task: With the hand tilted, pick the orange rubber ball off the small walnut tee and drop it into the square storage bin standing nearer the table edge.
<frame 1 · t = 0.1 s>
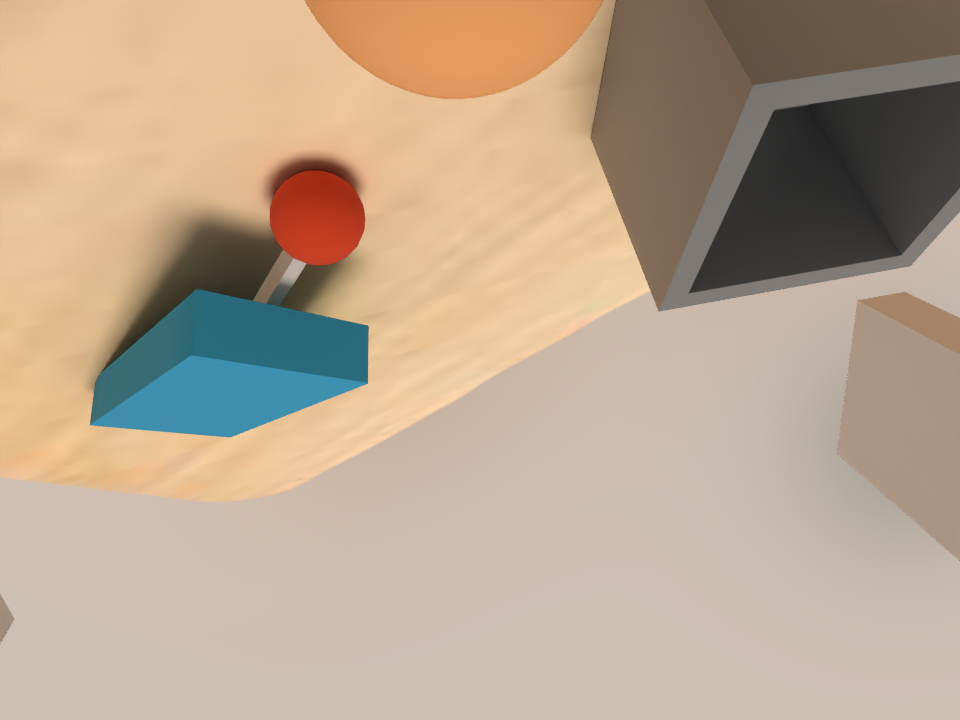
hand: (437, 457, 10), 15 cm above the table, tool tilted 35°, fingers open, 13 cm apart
square storage bin: (740, 15, 23), on the table
lever: (233, 292, 31), on the table
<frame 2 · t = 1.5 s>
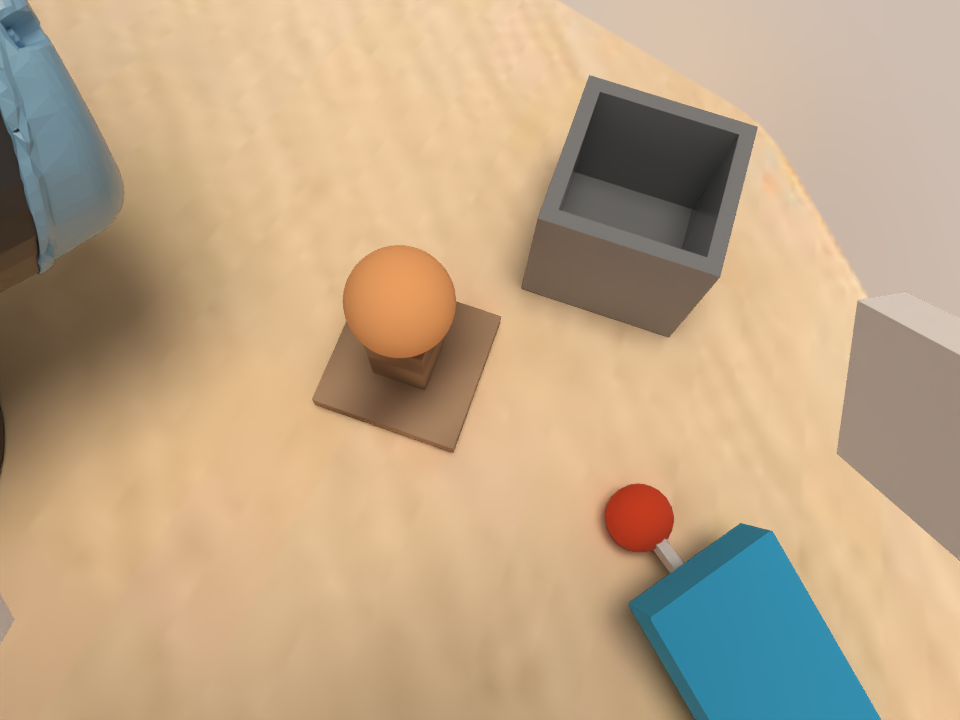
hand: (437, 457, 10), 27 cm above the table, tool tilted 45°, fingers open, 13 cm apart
tee: (410, 362, 39), on the table
square storage bin: (614, 247, 42), on the table
lever: (719, 652, 35), on the table
ball: (400, 302, 31), point 8 cm above the table, touching tee
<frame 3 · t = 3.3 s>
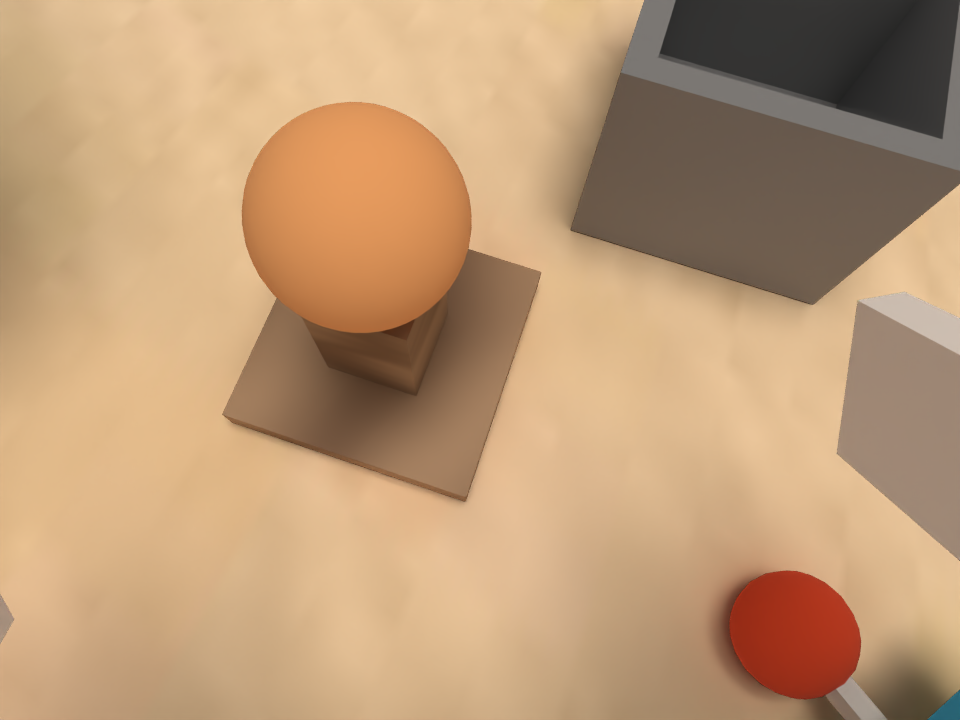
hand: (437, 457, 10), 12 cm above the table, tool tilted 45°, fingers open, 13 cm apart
tee: (391, 350, 24), on the table
square storage bin: (715, 166, 27), on the table
ball: (359, 221, 16), point 8 cm above the table, touching tee
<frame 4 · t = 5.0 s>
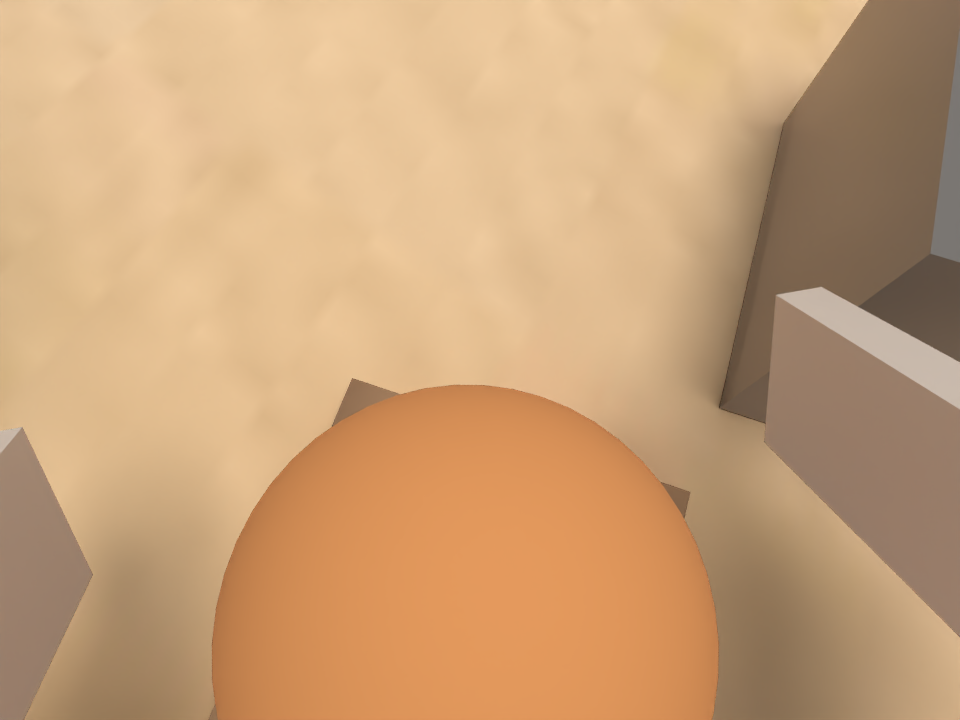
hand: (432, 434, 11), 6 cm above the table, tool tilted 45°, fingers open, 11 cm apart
tee: (459, 612, 15), on the table
square storage bin: (921, 305, 18), on the table
ball: (467, 623, 7), point 8 cm above the table, touching tee
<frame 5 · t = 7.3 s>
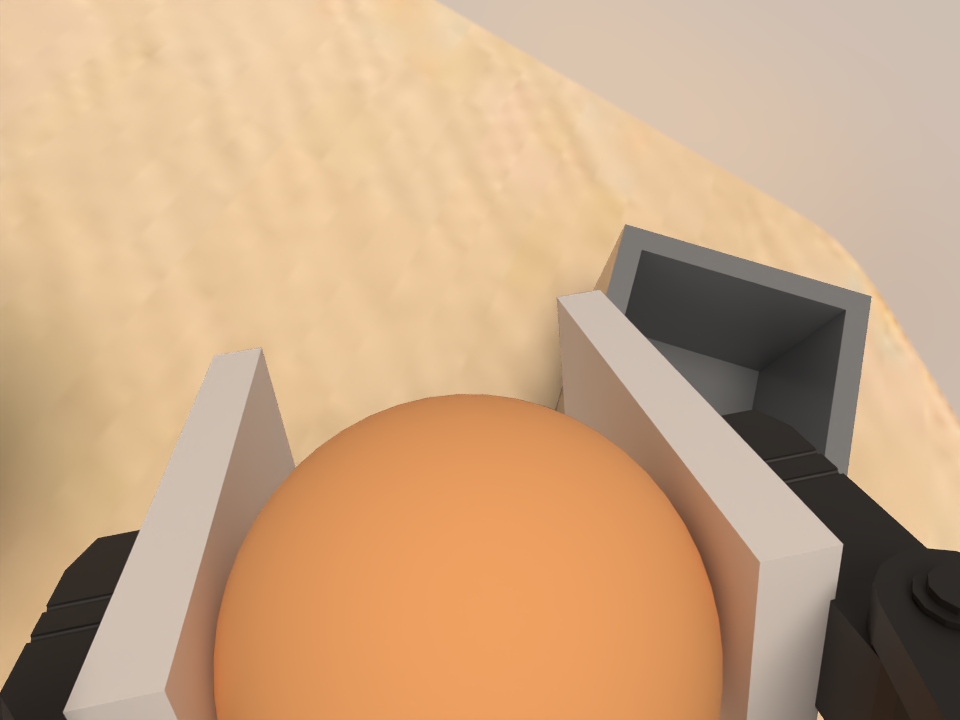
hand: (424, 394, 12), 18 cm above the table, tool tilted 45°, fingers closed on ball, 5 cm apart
square storage bin: (656, 427, 31), on the table
ball: (469, 634, 7), point 22 cm above the table, touching gripper
when the fingers open (10 cm above the table, at t = 9.1 s): ball drops 11 cm, resting on square storage bin.
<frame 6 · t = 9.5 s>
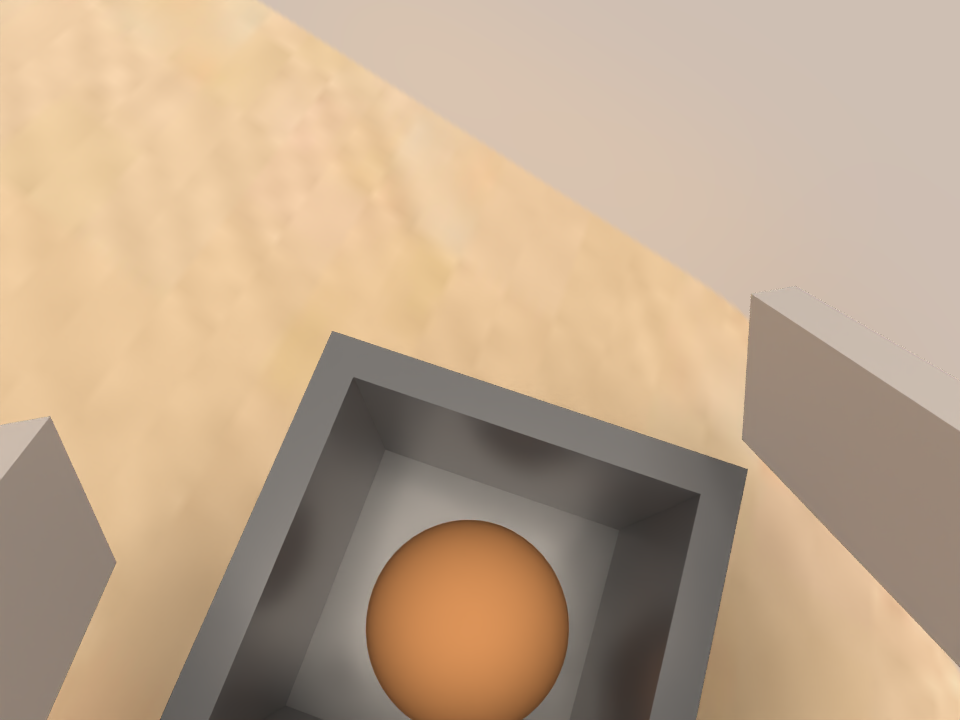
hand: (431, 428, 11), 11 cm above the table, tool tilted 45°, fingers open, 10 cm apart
square storage bin: (460, 613, 20), on the table
ball: (467, 622, 17), point 3 cm above the table, tilted 6°, touching square storage bin
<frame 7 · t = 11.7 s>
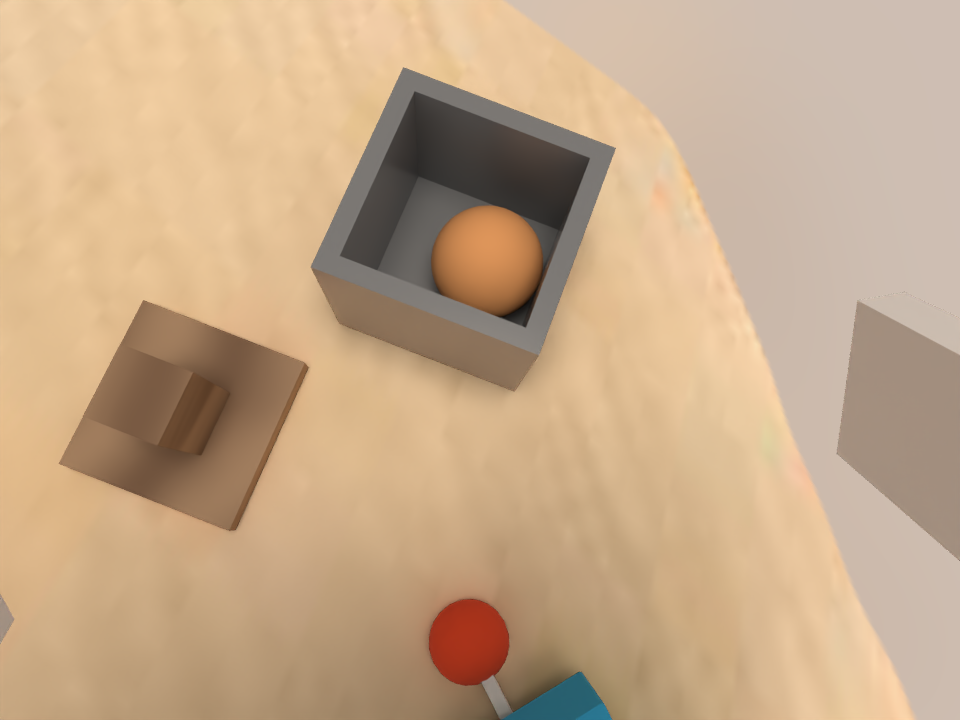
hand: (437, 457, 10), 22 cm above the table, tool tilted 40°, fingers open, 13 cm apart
tee: (192, 414, 32), on the table
square storage bin: (460, 274, 34), on the table
ball: (487, 262, 31), point 3 cm above the table, tilted 28°, touching square storage bin
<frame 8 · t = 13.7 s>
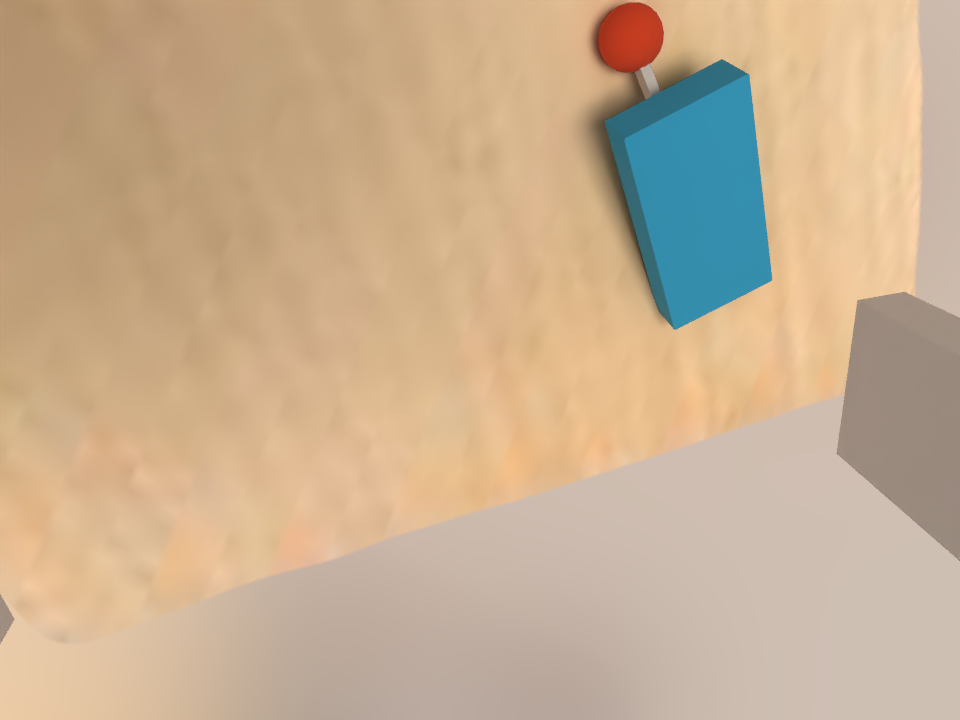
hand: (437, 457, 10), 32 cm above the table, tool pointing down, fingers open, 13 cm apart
lever: (661, 164, 42), on the table
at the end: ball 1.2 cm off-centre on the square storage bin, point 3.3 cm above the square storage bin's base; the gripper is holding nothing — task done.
